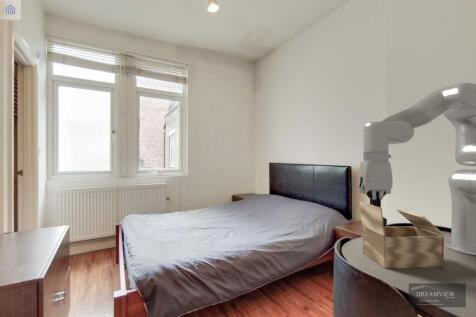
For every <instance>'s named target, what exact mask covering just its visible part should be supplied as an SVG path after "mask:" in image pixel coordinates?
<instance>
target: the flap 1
mask: <svg viewBox="0 0 476 317" xmlns="http://www.w3.org/2000/svg"><path fill="white" fill-rule="evenodd" d="M359 210H360V218H361V226H362V228H363V227H366V228H368V229H370V230H372V231H374V232H376V233H378V234H380V235H383V236H385V232H384V223H383V217H384V215H383V208H382V207H381V208H380V207H377V206H374V205H370V203H366V202H364V201H359Z"/></svg>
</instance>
